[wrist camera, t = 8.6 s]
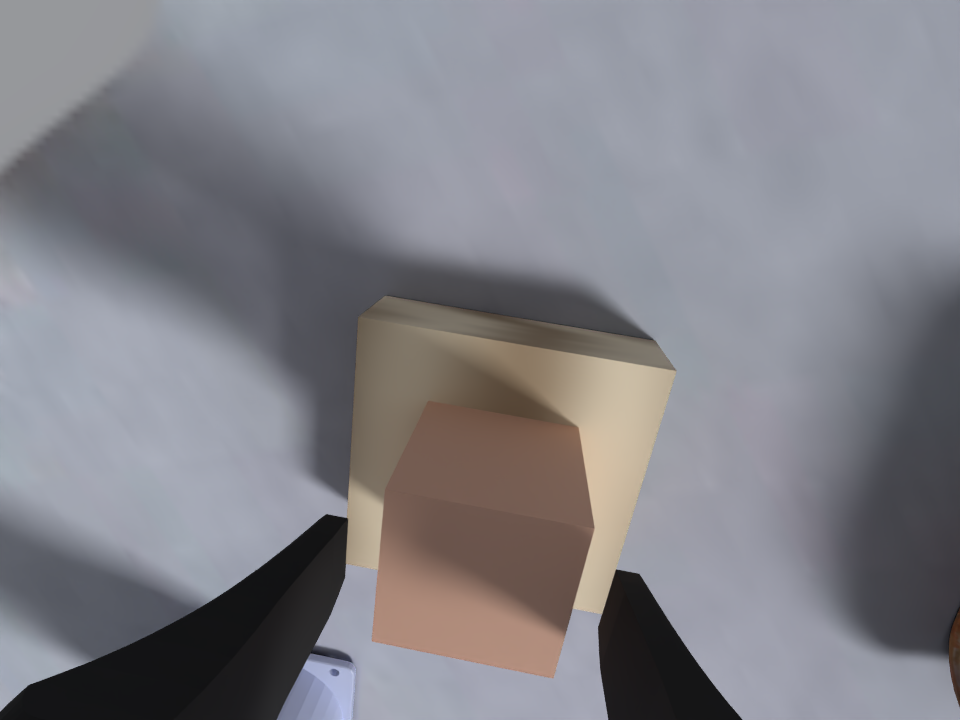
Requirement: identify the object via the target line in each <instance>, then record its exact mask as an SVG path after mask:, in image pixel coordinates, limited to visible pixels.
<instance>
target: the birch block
mask: <svg viewBox="0 0 960 720" xmlns="http://www.w3.org/2000/svg"><path fill="white" fill-rule="evenodd" d="M675 375H676V370H675V368H674V367H673V365H672V364H671V362H670V361H669V360H668V358H667V357H666V355H665V354H664V352H663V351H662V350H661V348H660V347H659V345H658V344H657V343H656V341H654V340H648V339H642V338H636V337H630V336H624V335H618V334H612V333H606V332H600V331H594V330H588V329H582V328H576V327H570V326H564V325H558V324H552V323H546V322H540V321H534V320H528V319H522V318H516V317H510V316H504V315H498V314H492V313H486V312H480V311H475V310H469V309H463V308H457V307H451V306H445V305H439V304H433V303H427V302H421V301H415V300H409V299H403V298H397V297H391V296H384V297H383V298H382V299H380V300H379V301H378V302H377V303H375V304H374V305H373V306H371V307H370V308H369V309H368V310H366V311H365V312H364V313H363V314H361V315H360V316H359V317H358V330H357V348H356V366H355V384H354V402H353V420H352V438H351V456H350V474H349V492H348V510H347V518H348V534H347V551H346V564H350V565H355V566H360V567H365V568H370V569H375V570H378V563H379V552H380V540H381V529H382V517H383V506H384V494H385V488H386V486H387V484H388V482H389V480H390V478H391V476H392V474H393V472H394V470H395V468H396V466H397V463H398V461H399V459H400V457H401V455H402V453H403V451H404V449H405V447H406V445H407V443H408V441H409V439H410V437H411V435H412V433H413V431H414V429H415V427H416V425H417V423H418V421H419V419H420V416H421V414H422V412H423V410H424V408H425V406H426V404H427V402H428V401H433V402H438V403H444V404H450V405H455V406H461V407H467V408H472V409H478V410H484V411H489V412H495V413H500V414H506V415H512V416H517V417H523V418H529V419H534V420H540V421H546V422H551V423H557V424H562V425H568V426H574V427H579V433H580V439H581V445H582V452H583V458H584V464H585V470H586V477H587V483H588V489H589V496H590V502H591V508H592V515H593V521H594V527H595V529H594V533H593V537H592V540H591V544H590V548H589V551H588V555H587V558H586V562H585V566H584V569H583V573H582V576H581V580H580V584H579V587H578V591H577V595H576V598H575V602H574V605H573V609H578V610H583V611H588V612H593V613H599V614H602V613H603V610H604V606H605V603H606V600H607V597H608V593H609V590H610V587H611V583H612V580H613V577H614V574H615V570H616V567H617V564H618V561H619V557H620V554H621V551H622V548H623V544H624V541H625V538H626V535H627V531H628V528H629V525H630V521H631V518H632V515H633V512H634V508H635V505H636V502H637V499H638V495H639V492H640V489H641V486H642V482H643V479H644V476H645V472H646V469H647V466H648V463H649V459H650V456H651V453H652V450H653V446H654V443H655V440H656V437H657V433H658V430H659V427H660V424H661V420H662V417H663V414H664V410H665V407H666V404H667V401H668V397H669V394H670V391H671V388H672V384H673V381H674V378H675Z"/></svg>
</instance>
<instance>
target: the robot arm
mask: <svg viewBox="0 0 960 720" xmlns="http://www.w3.org/2000/svg"><path fill="white" fill-rule="evenodd" d="M347 534H348V518H343V517H338V516H333V515H328V514H326V515H325V516H323V517H322V518H321V519H319V520H318V521H317V522H316V523H315V524H314V525H312V526H311V527H310V528H309V529H308V530H306V531H305V532H304V533H303V534H302V535H301V536H299V537H298V538H297V539H296V540H294V541H293V542H292V543H291V544H290V545H288V546H287V547H286V548H285V549H283V550H282V551H281V552H280V553H278V554H277V555H276V556H274V557H273V558H272V559H271V560H269V561H268V562H267V563H265V564H264V565H263V566H261V567H260V568H259V569H257V570H256V571H255V572H253V573H252V574H250V575H249V576H248V577H246V578H245V579H243V580H242V581H241V582H239V583H238V584H236V585H235V586H233V587H232V588H230V589H229V590H227V591H226V592H224V593H223V594H221V595H220V596H218V597H217V598H215V599H214V600H212V601H210V602H209V603H207V604H205V605H204V606H202V607H200V608H199V609H197V610H195V611H194V612H192V613H190V614H188V615H187V616H185V617H183V618H181V619H179V620H177V621H176V622H174V623H172V624H170V625H168V626H166V627H164V628H162V629H160V630H159V631H157V632H155V633H153V634H151V635H149V636H147V637H145V638H143V639H141V640H138V641H136V642H134V643H132V644H130V645H128V646H126V647H124V648H121V649H119V650H117V651H114V652H112V653H110V654H108V655H105V656H103V657H101V658H98V659H96V660H94V661H91V662H89V663H86V664H84V665H81V666H78V667H76V668H73V669H71V670H68V671H65V672H63V673H60V674H57V675H55V676H52V677H50V678H47V679H44V680H42V681H39V682H36V683H33V684H30V685H28V686H27V687H26V688H25V689H24V690H23V691H22V692H21V693H20V694H18V695H17V696H16V697H15V698H14V699H13V700H12V701H11V702H10V703H9V704H7V705H6V706H5V708H4V709H3V710H2V711H1V712H0V720H352V718H353V705H354V691H355V677H356V667H355V666H354V665H353V664H352V663H351V662H349V661H345V660H340V659H335V658H330V657H326V656H321V655H316V654H311V651H312V649H313V648H314V646H315V644H316V642H317V640H318V638H319V636H320V634H321V632H322V630H323V628H324V626H325V624H326V623H327V621H328V619H329V617H330V615H331V612H332V610H333V607H334V605H335V602H336V600H337V597H338V595H339V592H340V589H341V587H342V584H343V581H344V579H345V568H346V551H347ZM598 635H599V656H600V670H601V677H602V683H603V689H604V695H605V702H606V708H607V714H608V720H742V719H741V717H740V716H739V715H738V714H737V713H736V712H735V710H734V709H733V708H732V707H731V706H730V705H729V703H728V702H727V701H726V700H725V699H724V697H723V696H722V695H721V694H720V692H719V691H718V690H717V689H716V687H715V686H714V685H713V683H712V682H711V681H710V679H709V678H708V677H707V675H706V674H705V673H704V671H703V670H702V669H701V667H700V666H699V664H698V663H697V662H696V660H695V659H694V657H693V656H692V655H691V653H690V652H689V650H688V649H687V647H686V646H685V644H684V643H683V641H682V640H681V638H680V637H679V636H678V634H677V633H676V631H675V630H674V628H673V627H672V625H671V623H670V622H669V620H668V619H667V617H666V616H665V614H664V612H663V611H662V609H661V608H660V606H659V605H658V603H657V601H656V600H655V598H654V597H653V595H652V593H651V592H650V590H649V588H648V587H647V585H646V584H645V582H644V580H643V579H642V577H641V576H640V574H637V573H632V572H627V571H621V570H616V571H615V574H614V577H613V580H612V584H611V587H610V590H609V593H608V597H607V600H606V603H605V607H604V610H603V613H602V616H601V620H600V623H599V626H598Z"/></svg>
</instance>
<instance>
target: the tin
mask: <svg viewBox="0 0 960 720" xmlns="http://www.w3.org/2000/svg"><path fill="white" fill-rule="evenodd" d="M949 664H950V672H951V678H952V682H953V687H954V691H955V694H956V697H957V700H958V704H959V707H960V609H959V612H958V613H957V616H956V618H955V620H954V623H953V626H952V629H951V633H950V639H949Z"/></svg>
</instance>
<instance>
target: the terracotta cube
mask: <svg viewBox="0 0 960 720" xmlns="http://www.w3.org/2000/svg"><path fill="white" fill-rule="evenodd" d="M594 529H595V527H594V521H593V515H592V508H591V502H590V496H589V489H588V483H587V477H586V470H585V464H584V458H583V452H582V445H581V439H580V433H579V427H574V426H568V425H562V424H557V423H551V422H546V421H540V420H534V419H529V418H523V417H517V416H512V415H506V414H500V413H495V412H489V411H484V410H478V409H472V408H467V407H461V406H455V405H450V404H444V403H438V402H433V401H428V402H427V404H426V406H425V408H424V410H423V412H422V414H421V416H420V419H419V421H418V423H417V425H416V427H415V429H414V431H413V433H412V435H411V437H410V439H409V441H408V443H407V445H406V447H405V449H404V451H403V453H402V455H401V457H400V459H399V461H398V463H397V466H396V468H395V470H394V472H393V474H392V476H391V478H390V480H389V482H388V484H387V486H386V488H385V494H384V506H383V517H382V529H381V540H380V552H379V563H378V575H377V587H376V598H375V610H374V621H373V633H372V641H373V642H378V643H382V644H387V645H392V646H397V647H402V648H407V649H412V650H417V651H421V652H426V653H431V654H436V655H441V656H446V657H451V658H456V659H461V660H465V661H470V662H475V663H480V664H485V665H490V666H495V667H500V668H505V669H509V670H514V671H519V672H524V673H529V674H534V675H539V676H544V677H549V678H554V674H555V671H556V667H557V663H558V660H559V656H560V653H561V649H562V645H563V642H564V638H565V634H566V631H567V627H568V624H569V620H570V616H571V613H572V609H573V605H574V602H575V598H576V595H577V591H578V587H579V584H580V580H581V576H582V573H583V569H584V566H585V562H586V558H587V555H588V551H589V548H590V544H591V540H592V537H593V533H594Z"/></svg>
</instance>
